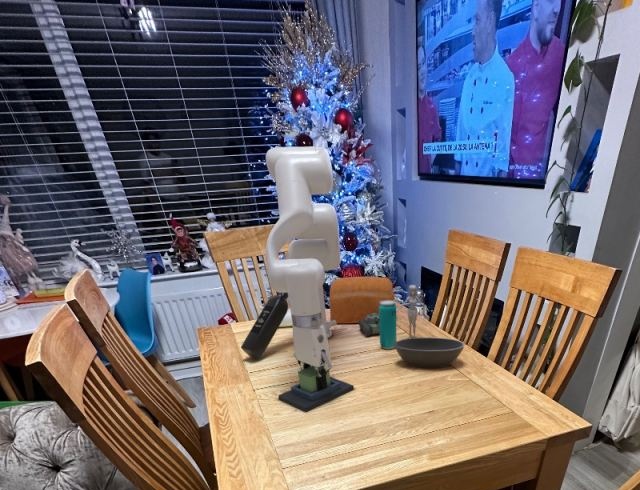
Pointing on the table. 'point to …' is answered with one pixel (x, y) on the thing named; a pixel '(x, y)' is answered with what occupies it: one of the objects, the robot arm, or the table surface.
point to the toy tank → (370, 325)
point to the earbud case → (287, 320)
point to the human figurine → (412, 308)
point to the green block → (310, 379)
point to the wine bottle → (266, 326)
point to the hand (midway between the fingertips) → (315, 385)
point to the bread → (358, 297)
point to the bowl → (429, 351)
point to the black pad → (315, 395)
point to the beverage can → (387, 324)
